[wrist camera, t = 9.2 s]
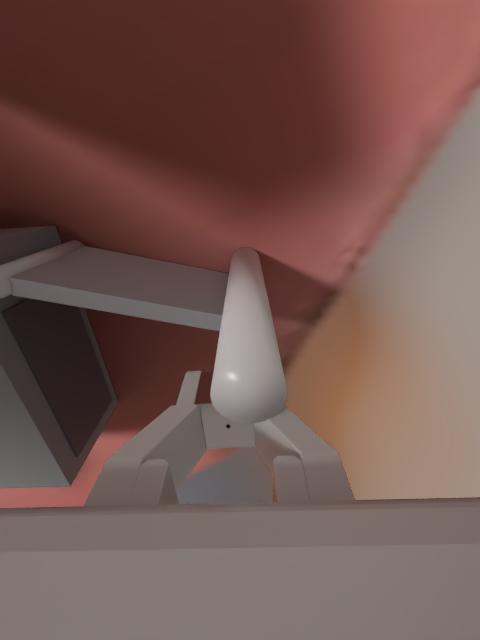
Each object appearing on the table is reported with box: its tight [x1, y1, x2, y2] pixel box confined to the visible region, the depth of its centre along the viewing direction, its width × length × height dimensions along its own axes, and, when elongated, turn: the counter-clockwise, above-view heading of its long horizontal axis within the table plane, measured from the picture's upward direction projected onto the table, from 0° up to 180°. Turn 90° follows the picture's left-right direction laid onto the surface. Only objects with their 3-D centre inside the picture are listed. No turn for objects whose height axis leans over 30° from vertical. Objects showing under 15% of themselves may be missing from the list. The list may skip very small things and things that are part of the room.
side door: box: [0, 240, 288, 423], centre depth 11 cm, size 12×3×12 cm, turn 79°
